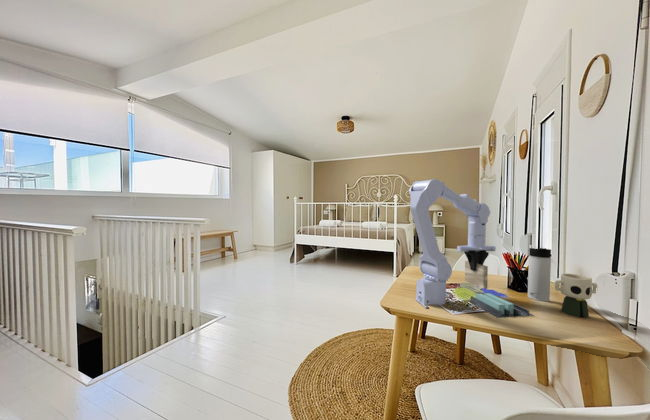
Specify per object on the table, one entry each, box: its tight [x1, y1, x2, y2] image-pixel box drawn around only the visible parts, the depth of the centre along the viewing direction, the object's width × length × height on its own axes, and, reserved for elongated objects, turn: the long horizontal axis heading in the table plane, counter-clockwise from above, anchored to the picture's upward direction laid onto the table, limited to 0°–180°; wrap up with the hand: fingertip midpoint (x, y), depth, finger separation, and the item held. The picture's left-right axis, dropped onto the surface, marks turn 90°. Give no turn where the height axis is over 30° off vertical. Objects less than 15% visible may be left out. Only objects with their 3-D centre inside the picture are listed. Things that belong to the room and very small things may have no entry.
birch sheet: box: [464, 260, 489, 289], centre depth 98 cm, size 2×10×8 cm, turn 8°
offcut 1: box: [475, 293, 505, 314], centre depth 85 cm, size 2×10×3 cm, turn 8°
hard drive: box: [476, 286, 509, 299], centre depth 102 cm, size 2×8×12 cm
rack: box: [465, 296, 535, 319], centre depth 86 cm, size 13×14×2 cm
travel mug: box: [527, 247, 552, 303], centre depth 94 cm, size 6×7×20 cm
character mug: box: [554, 272, 598, 319], centre depth 81 cm, size 11×7×13 cm, turn 75°
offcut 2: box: [483, 292, 515, 314], centre depth 86 cm, size 2×10×3 cm, turn 7°
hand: (475, 270), depth 98 cm, fingers closed on birch sheet, 2 cm apart
